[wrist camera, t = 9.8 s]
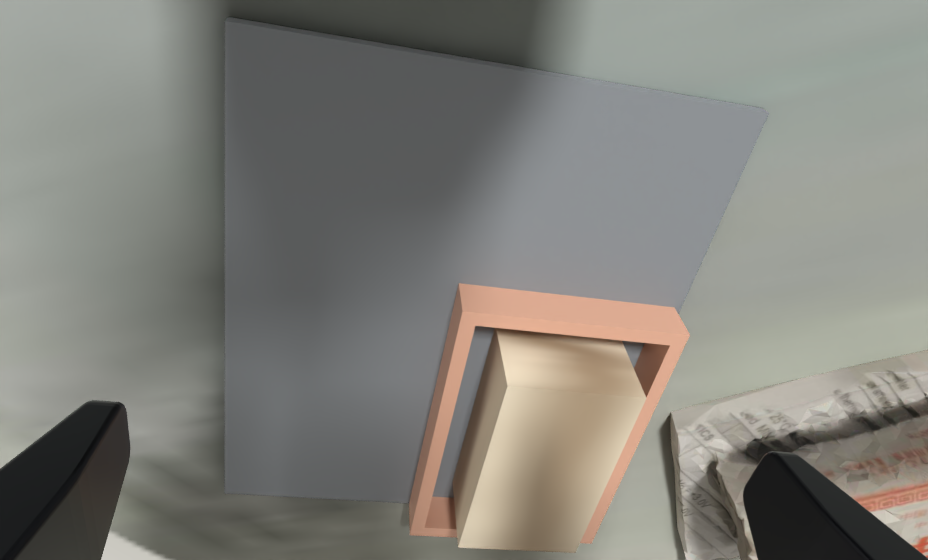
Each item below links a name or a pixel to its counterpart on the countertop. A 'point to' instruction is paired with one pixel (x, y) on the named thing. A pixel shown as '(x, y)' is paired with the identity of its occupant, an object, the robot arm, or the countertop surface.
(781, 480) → the robot arm
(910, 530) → the packaged product
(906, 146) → the countertop surface
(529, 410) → the cream rectangular prism
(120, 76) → the countertop surface
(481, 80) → the mat
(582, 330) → the frame
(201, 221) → the countertop surface
